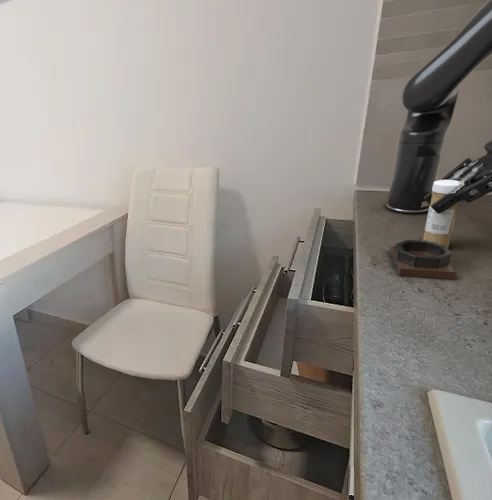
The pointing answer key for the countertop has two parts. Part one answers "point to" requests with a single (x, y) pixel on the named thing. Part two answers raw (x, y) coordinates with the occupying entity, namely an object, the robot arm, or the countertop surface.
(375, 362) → the countertop surface
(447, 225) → the sprinkles bottle
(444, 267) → the base pad
